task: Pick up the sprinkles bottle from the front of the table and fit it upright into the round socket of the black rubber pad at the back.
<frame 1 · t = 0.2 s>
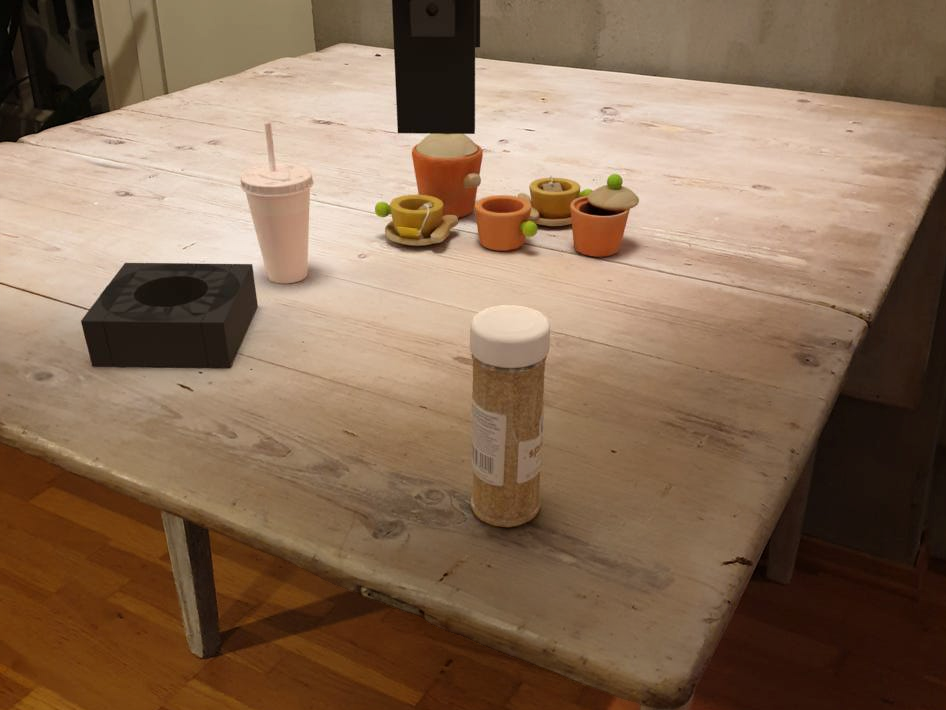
hand: (445, 83, 40), 28 cm above the table, tool pointing down, fingers open, 13 cm apart
toy tea set: (508, 231, 101), on the table
smoothie: (287, 277, 91), on the table
sprinkles bottle: (504, 510, 62), on the table
socket pad: (179, 334, 81), on the table
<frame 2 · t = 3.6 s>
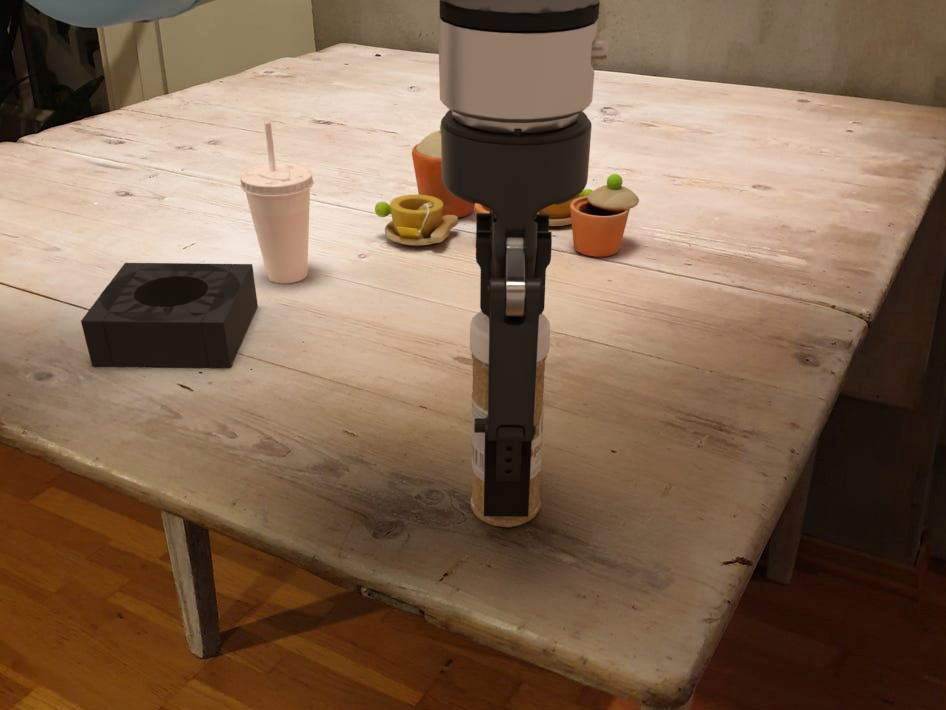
hand: (505, 487, 61), 2 cm above the table, tool pointing down, fingers closed on sprinkles bottle, 4 cm apart
sprinkles bottle: (504, 510, 62), on the table, touching gripper
everything else where it was.
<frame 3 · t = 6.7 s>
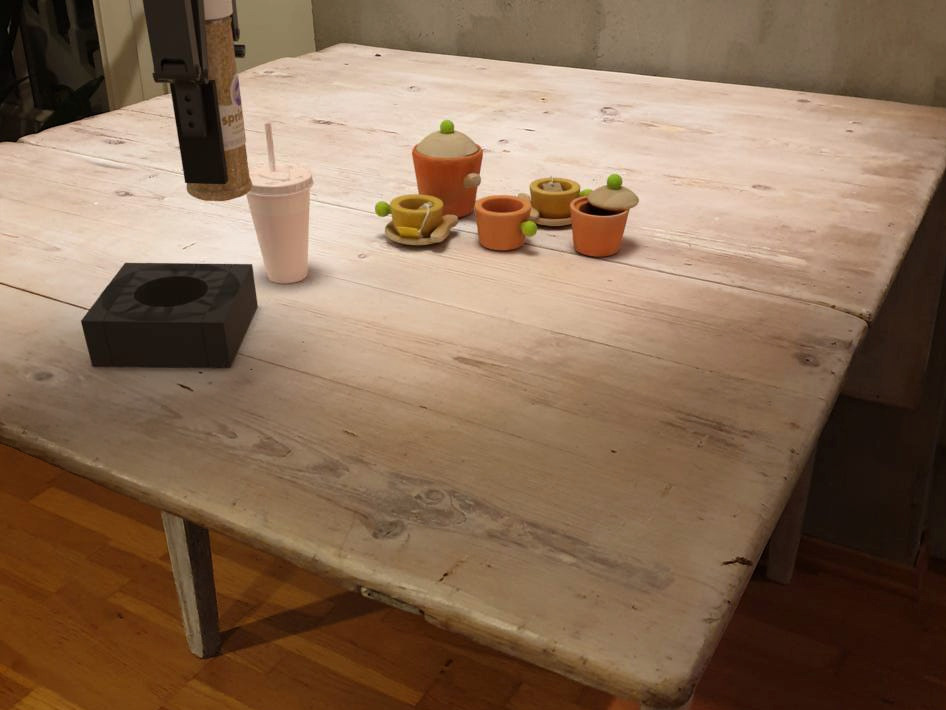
hand: (216, 168, 67), 16 cm above the table, tool pointing down, fingers closed on sprinkles bottle, 4 cm apart
sprinkles bottle: (220, 194, 68), point 14 cm above the table, touching gripper
everything else where it was.
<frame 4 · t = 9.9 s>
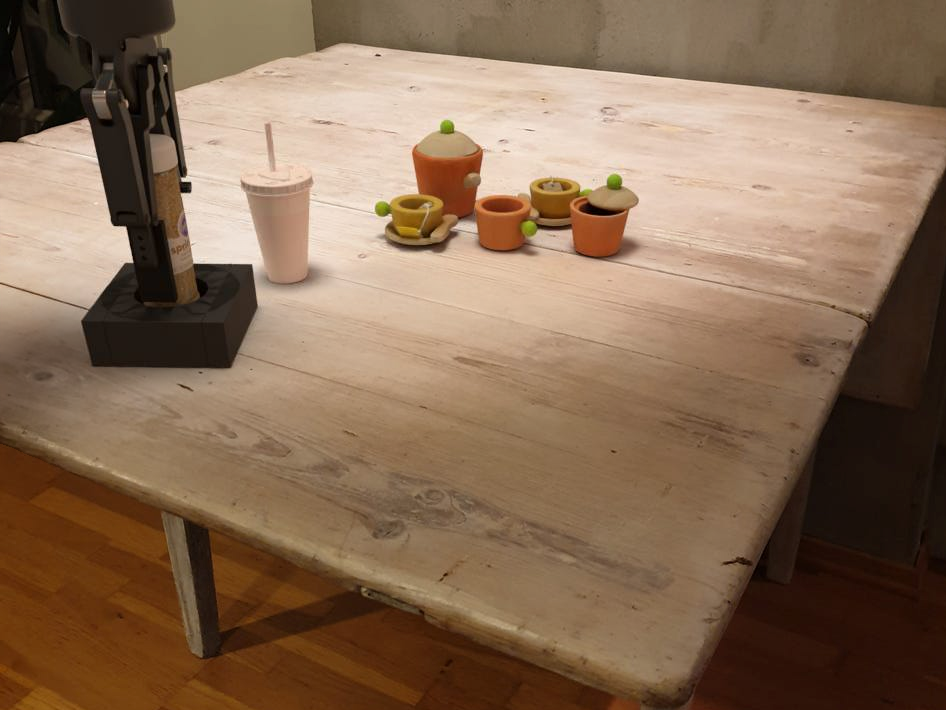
hand: (168, 285, 79), 4 cm above the table, tool pointing down, fingers closed on sprinkles bottle, 4 cm apart
sprinkles bottle: (172, 306, 80), point 3 cm above the table, touching gripper
everything else where it was.
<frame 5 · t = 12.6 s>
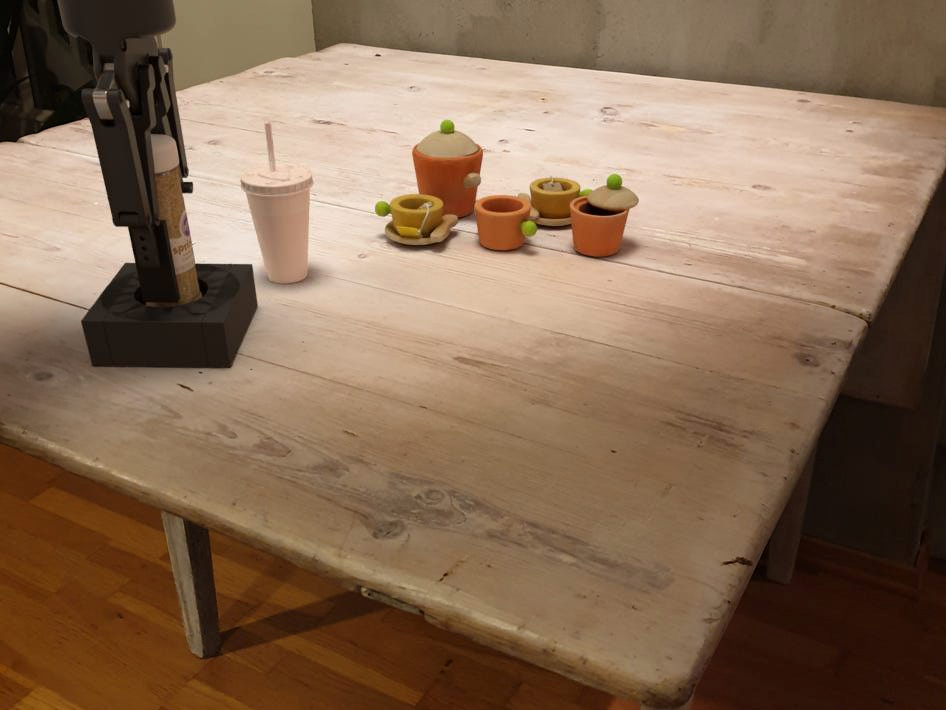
hand: (170, 286, 79), 4 cm above the table, tool pointing down, fingers closed on sprinkles bottle, 4 cm apart
sprinkles bottle: (175, 306, 80), point 3 cm above the table, touching gripper
everything else where it was.
when the fingers open (6 cm above the table, at t = 14.9 s): sprinkles bottle drops 4 cm, resting in socket pad.
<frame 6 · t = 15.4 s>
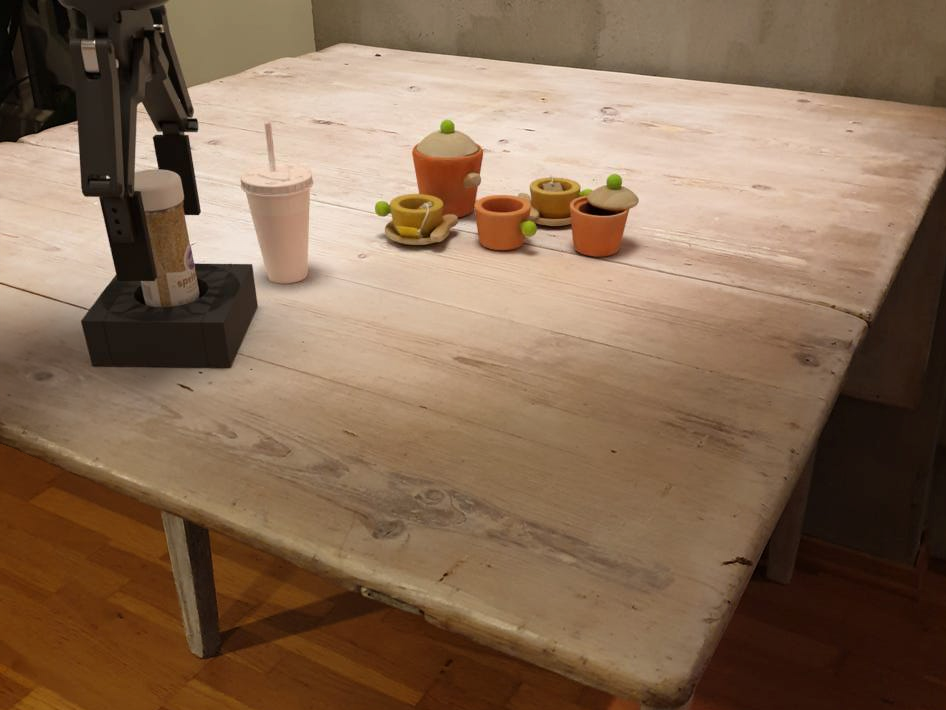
hand: (162, 244, 76), 8 cm above the table, tool pointing down, fingers open, 12 cm apart
sprinkles bottle: (179, 336, 81), resting in socket pad
everything else where it was.
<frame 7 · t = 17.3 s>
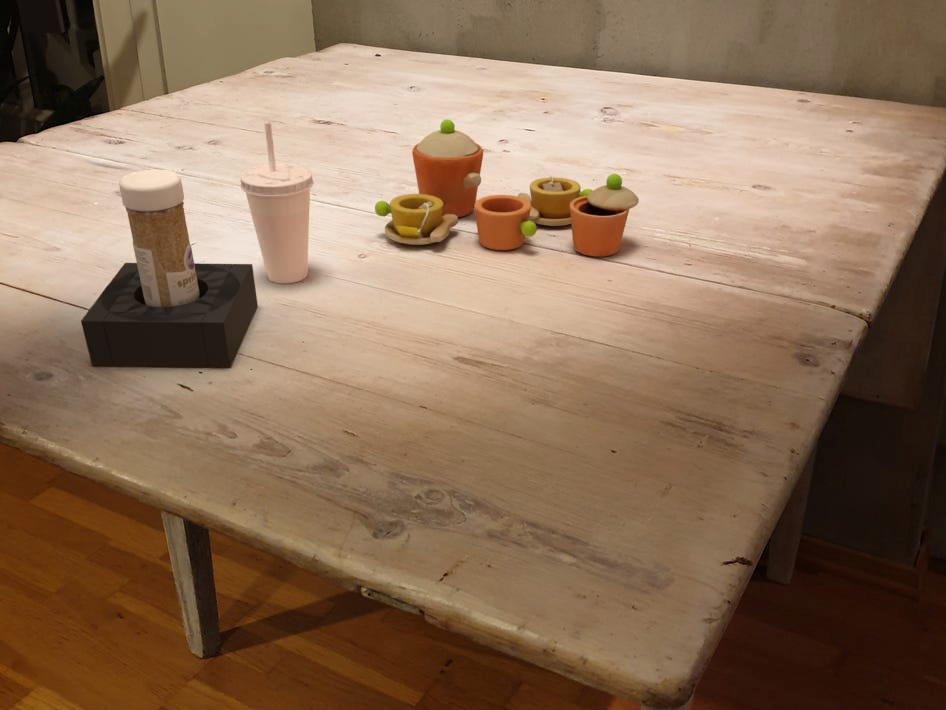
hand: (9, 54, 65), 23 cm above the table, tool pointing down, fingers open, 13 cm apart
nothing on the table moved.
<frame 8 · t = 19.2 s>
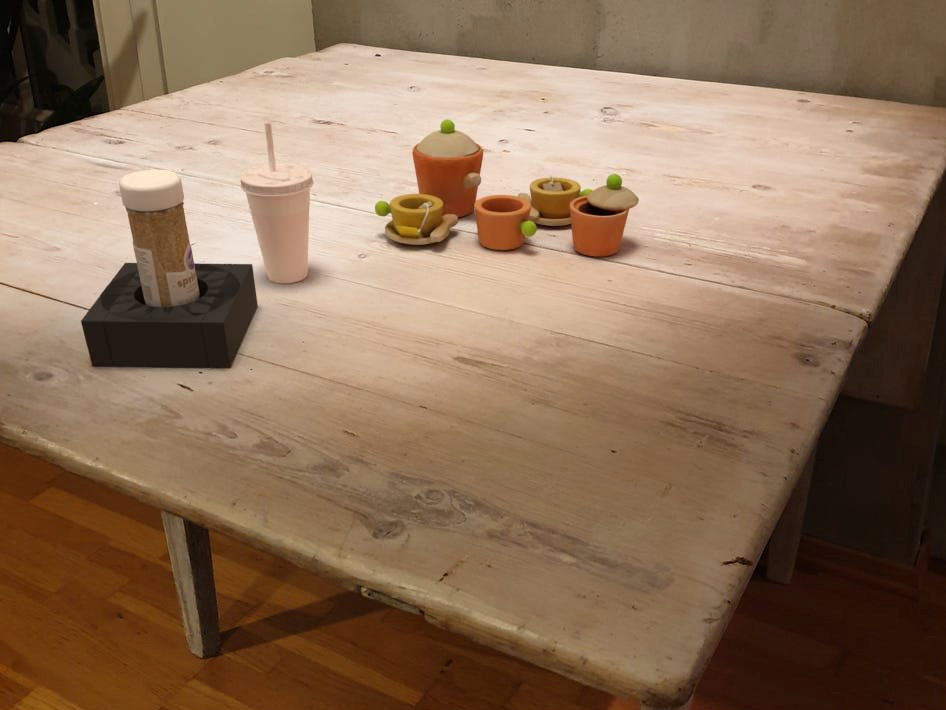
nothing on the table moved.
at the end: sprinkles bottle 0.0 cm off-centre in the socket pad, point 0.0 cm above the socket pad's base; sprinkles bottle tilted 0°; the gripper is holding nothing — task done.
